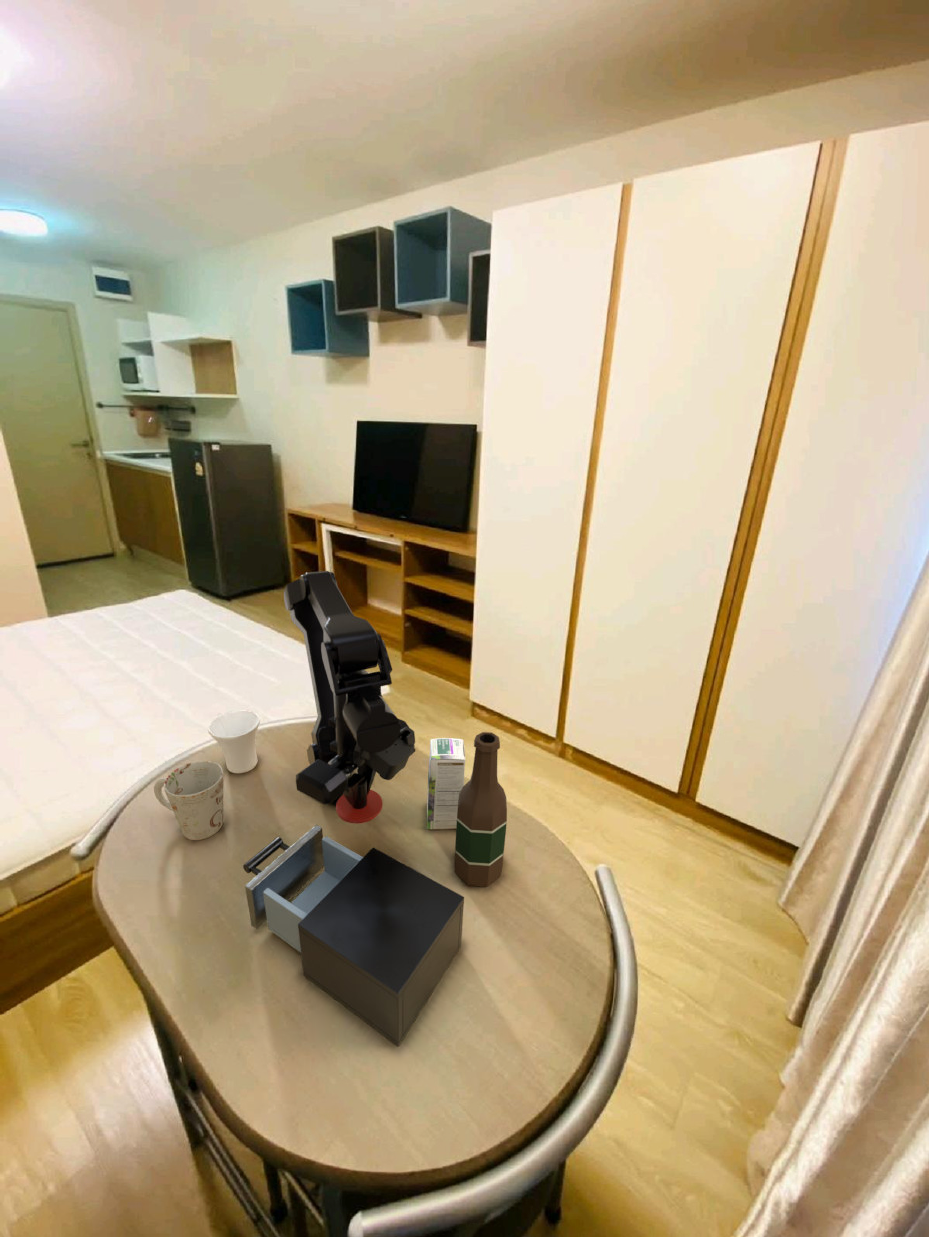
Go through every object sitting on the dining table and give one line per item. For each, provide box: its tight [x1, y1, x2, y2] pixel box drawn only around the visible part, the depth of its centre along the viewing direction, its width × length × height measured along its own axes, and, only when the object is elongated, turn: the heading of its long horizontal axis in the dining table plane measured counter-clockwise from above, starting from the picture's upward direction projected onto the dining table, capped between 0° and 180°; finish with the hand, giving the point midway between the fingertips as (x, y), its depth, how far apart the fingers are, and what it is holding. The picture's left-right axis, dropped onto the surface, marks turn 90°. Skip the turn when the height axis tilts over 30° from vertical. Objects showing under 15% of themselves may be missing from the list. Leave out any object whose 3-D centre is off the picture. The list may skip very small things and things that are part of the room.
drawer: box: [242, 824, 364, 954], centre depth 70 cm, size 18×12×7 cm
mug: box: [153, 760, 225, 841], centre depth 84 cm, size 8×13×10 cm, turn 78°
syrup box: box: [426, 737, 466, 830], centre depth 87 cm, size 6×6×14 cm
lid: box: [335, 777, 384, 825], centre depth 79 cm, size 7×7×5 cm
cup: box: [207, 709, 261, 774], centre depth 98 cm, size 9×9×10 cm
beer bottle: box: [454, 731, 508, 887], centre depth 75 cm, size 8×8×24 cm
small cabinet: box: [298, 846, 465, 1048], centre depth 64 cm, size 15×14×9 cm
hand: (359, 799), depth 79 cm, fingers closed on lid, 2 cm apart
